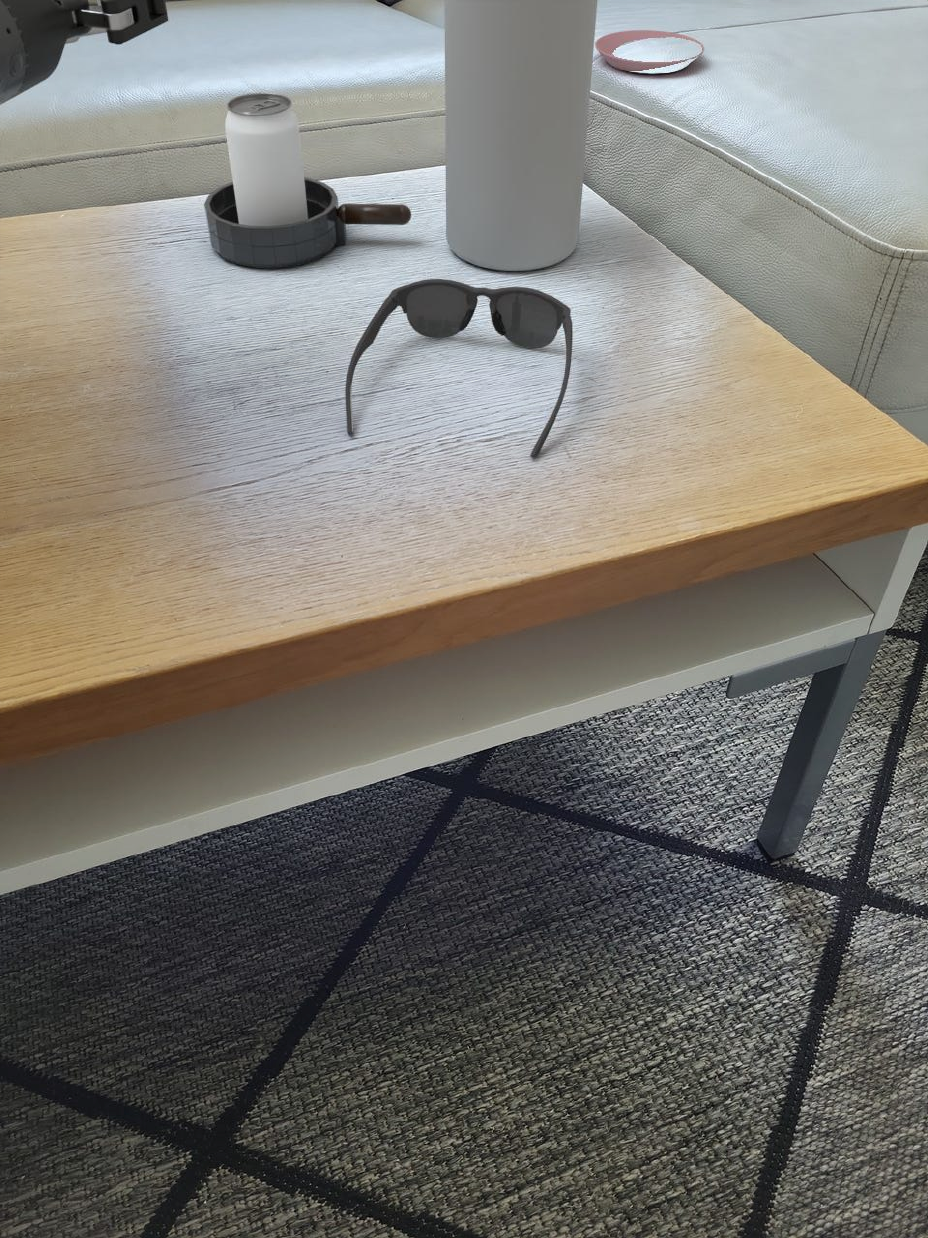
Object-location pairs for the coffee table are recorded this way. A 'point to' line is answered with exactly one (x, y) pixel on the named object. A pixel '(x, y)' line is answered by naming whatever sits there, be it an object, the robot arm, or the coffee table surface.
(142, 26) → the robot arm
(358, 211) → the pan handle
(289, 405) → the coffee table surface
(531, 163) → the cylinder vase
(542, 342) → the sunglasses
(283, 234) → the pan
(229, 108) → the can
